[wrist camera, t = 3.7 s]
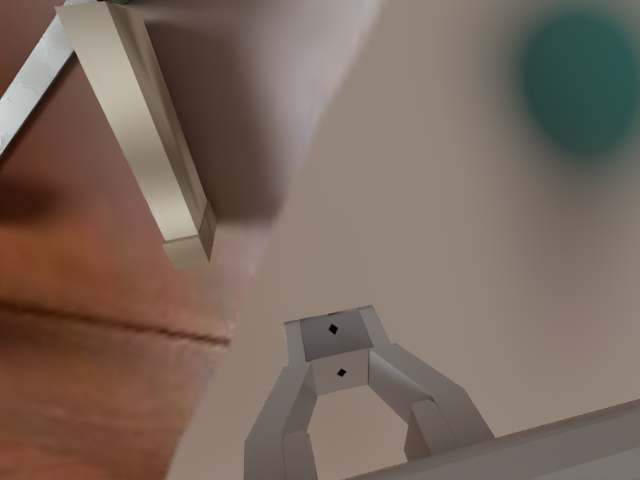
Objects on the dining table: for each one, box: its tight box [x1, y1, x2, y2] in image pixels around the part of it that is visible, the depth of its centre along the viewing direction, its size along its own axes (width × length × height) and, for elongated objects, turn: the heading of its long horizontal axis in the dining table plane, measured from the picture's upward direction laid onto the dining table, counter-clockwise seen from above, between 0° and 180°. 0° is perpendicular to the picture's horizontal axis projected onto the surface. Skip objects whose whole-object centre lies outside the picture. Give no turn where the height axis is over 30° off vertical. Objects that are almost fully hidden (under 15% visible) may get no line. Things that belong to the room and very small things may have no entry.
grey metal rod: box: [0, 0, 100, 160], centre depth 16 cm, size 14×1×1 cm, turn 132°
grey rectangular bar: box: [54, 1, 217, 270], centre depth 16 cm, size 12×2×5 cm, turn 7°
